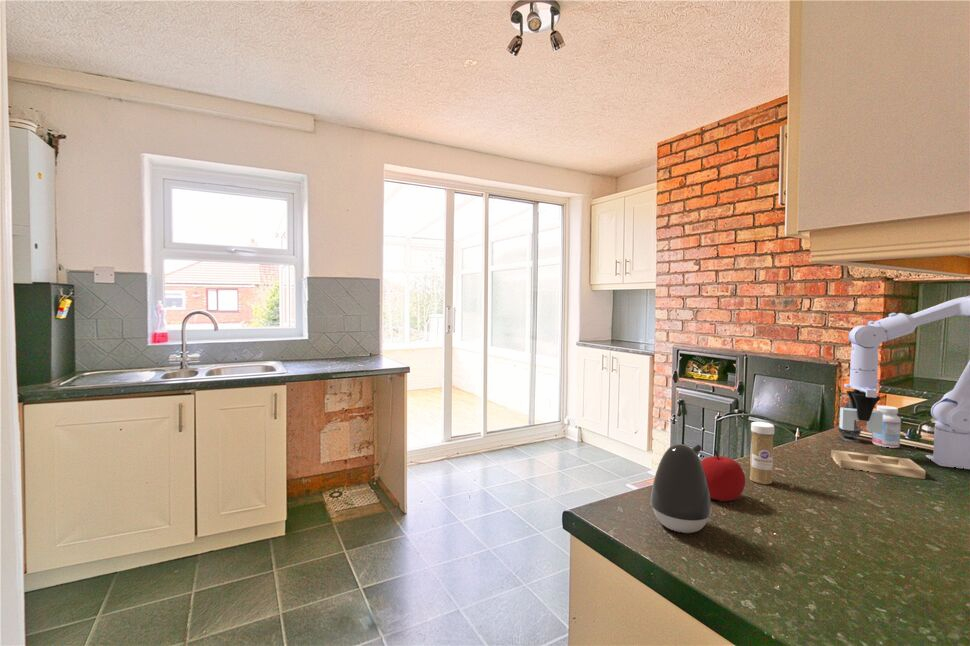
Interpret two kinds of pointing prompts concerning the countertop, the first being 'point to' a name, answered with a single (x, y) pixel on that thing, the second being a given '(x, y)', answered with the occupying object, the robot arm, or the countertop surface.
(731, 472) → the apple
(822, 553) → the countertop surface
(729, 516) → the countertop surface
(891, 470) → the wooden slotted board
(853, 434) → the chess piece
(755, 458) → the sprinkles bottle
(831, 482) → the countertop surface
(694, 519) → the grey egg-shaped body
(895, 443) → the pill bottle
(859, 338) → the robot arm
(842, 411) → the pale blue u-shaped block
